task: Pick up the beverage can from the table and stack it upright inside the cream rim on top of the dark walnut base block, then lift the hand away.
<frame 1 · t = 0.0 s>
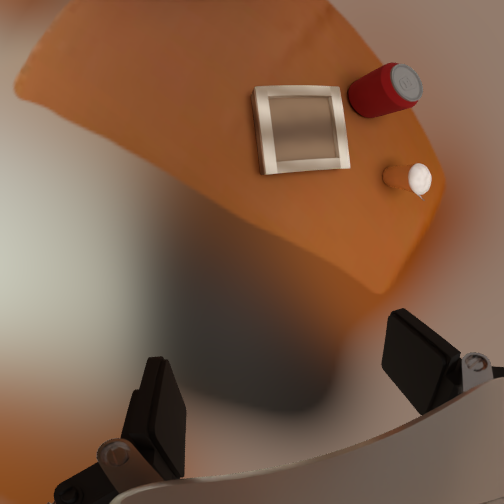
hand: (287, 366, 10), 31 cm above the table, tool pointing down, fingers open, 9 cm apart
beverage can: (363, 99, 38), on the table
base block: (296, 131, 38), on the table
milkshake: (388, 178, 42), on the table
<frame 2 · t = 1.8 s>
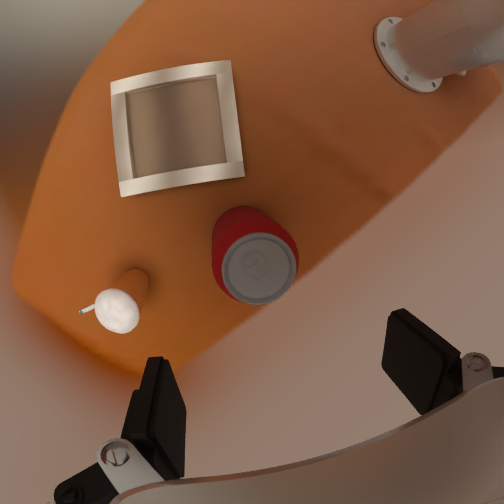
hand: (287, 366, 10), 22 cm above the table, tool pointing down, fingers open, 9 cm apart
beverage can: (242, 235, 32), on the table
base block: (178, 130, 27), on the table
milkshake: (133, 279, 31), on the table
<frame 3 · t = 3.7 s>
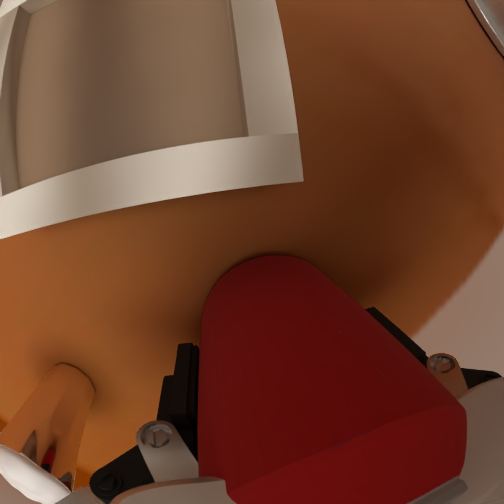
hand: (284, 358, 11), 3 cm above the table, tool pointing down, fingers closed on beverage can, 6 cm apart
beverage can: (268, 312, 14), on the table, touching gripper
base block: (129, 76, 10), on the table
milkshake: (68, 378, 14), on the table
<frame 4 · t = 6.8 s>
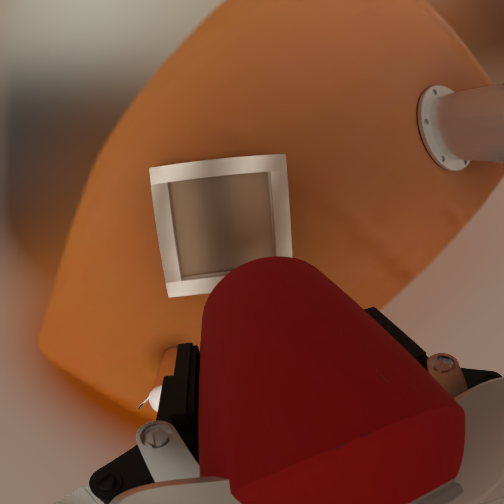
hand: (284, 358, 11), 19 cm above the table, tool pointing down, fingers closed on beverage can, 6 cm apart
beverage can: (268, 313, 14), point 16 cm above the table, touching gripper
base block: (222, 220, 29), on the table
milkshake: (173, 355, 32), on the table
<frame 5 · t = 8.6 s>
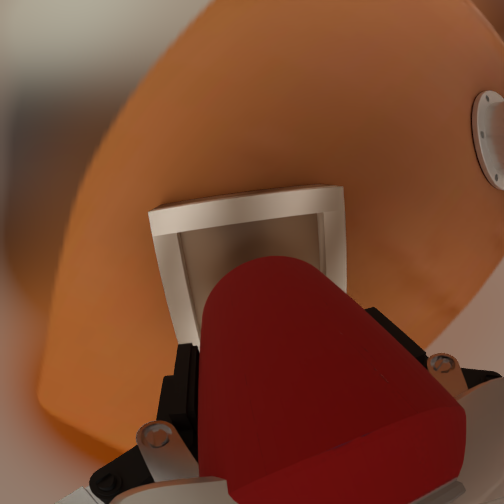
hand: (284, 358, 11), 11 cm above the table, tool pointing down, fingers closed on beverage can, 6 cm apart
beverage can: (268, 313, 14), point 8 cm above the table, touching gripper
base block: (251, 270, 22), on the table
when the fingers open (8 cm above the table, at t = 9.8 s): beverage can drops 2 cm, resting on base block.
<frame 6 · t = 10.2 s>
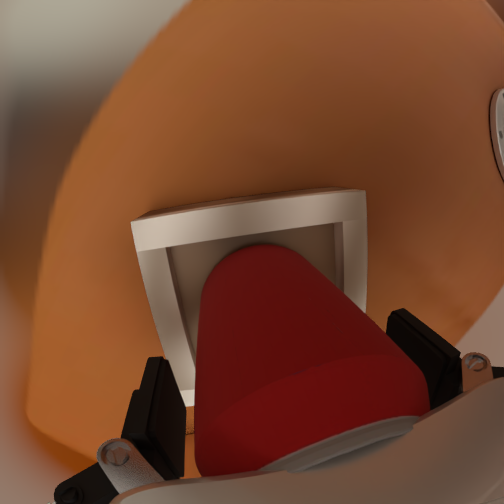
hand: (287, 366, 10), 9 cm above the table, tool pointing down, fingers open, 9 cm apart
beverage can: (259, 297, 16), point 3 cm above the table, touching base block
base block: (255, 286, 19), on the table
milkshake: (191, 440, 23), on the table
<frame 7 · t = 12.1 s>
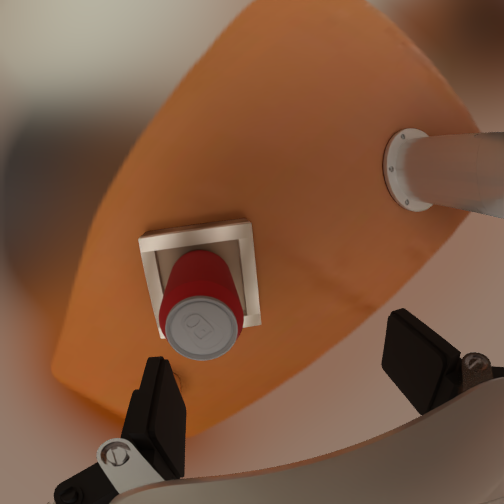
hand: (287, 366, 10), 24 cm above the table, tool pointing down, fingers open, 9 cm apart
beverage can: (200, 276, 31), point 3 cm above the table, touching base block
base block: (202, 273, 34), on the table
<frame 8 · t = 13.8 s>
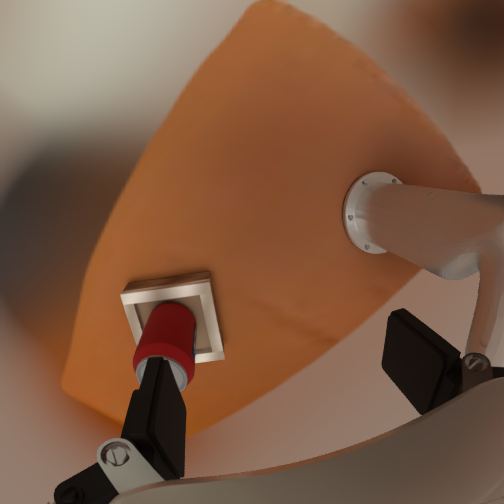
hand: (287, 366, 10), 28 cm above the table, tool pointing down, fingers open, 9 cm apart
beverage can: (173, 321, 37), point 3 cm above the table, touching base block
base block: (176, 315, 40), on the table
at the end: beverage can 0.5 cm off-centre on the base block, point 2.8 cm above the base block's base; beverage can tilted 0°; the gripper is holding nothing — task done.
